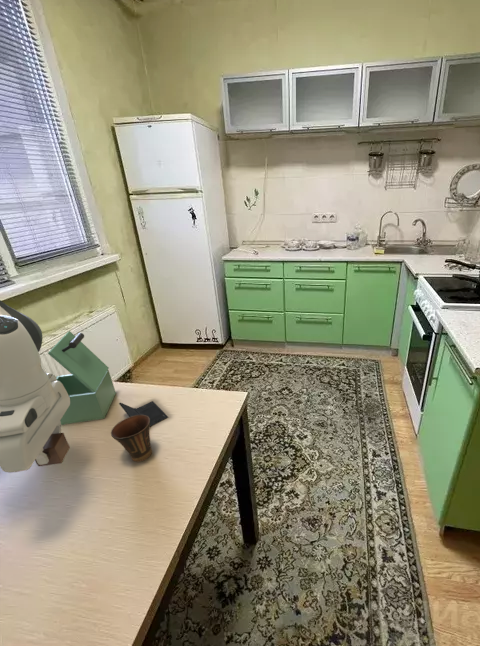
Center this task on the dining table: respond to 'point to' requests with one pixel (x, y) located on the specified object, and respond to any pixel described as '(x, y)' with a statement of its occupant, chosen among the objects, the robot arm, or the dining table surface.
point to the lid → (79, 360)
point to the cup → (134, 436)
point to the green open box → (86, 399)
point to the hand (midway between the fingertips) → (51, 451)
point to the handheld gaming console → (146, 412)
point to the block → (56, 448)
